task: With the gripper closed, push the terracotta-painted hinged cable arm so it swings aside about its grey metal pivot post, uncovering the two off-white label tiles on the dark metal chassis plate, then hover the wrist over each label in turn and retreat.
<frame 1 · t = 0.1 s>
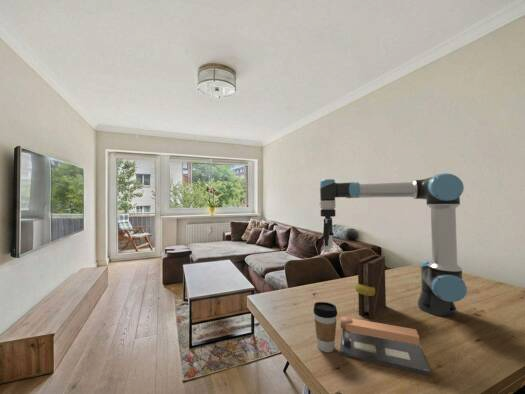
hand: (328, 249, 121), 28 cm above the table, fingers open, 13 cm apart
cable arm: (376, 328, 80), point 8 cm above the table, hinge at 0.0°
chassis: (380, 351, 81), on the table
coffee cup: (325, 347, 84), on the table
book: (372, 311, 111), on the table
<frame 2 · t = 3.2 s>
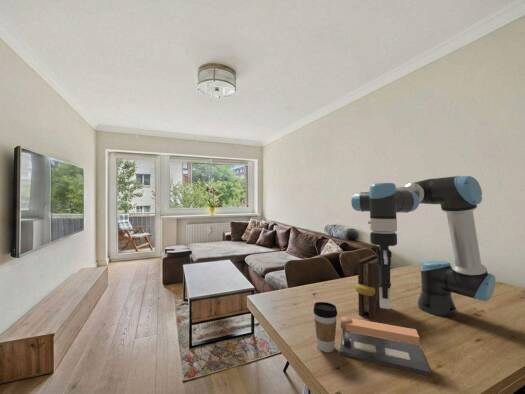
hand: (384, 307, 72), 19 cm above the table, fingers closed
nothing on the table moved.
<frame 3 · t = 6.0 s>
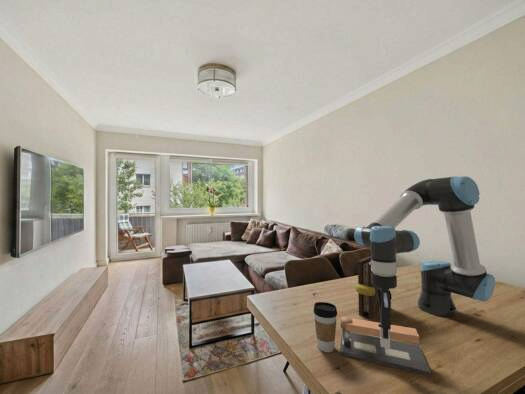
hand: (385, 346, 75), 5 cm above the table, fingers closed
cable arm: (376, 328, 80), point 8 cm above the table, hinge at 1.4°, touching gripper
everything else where it was.
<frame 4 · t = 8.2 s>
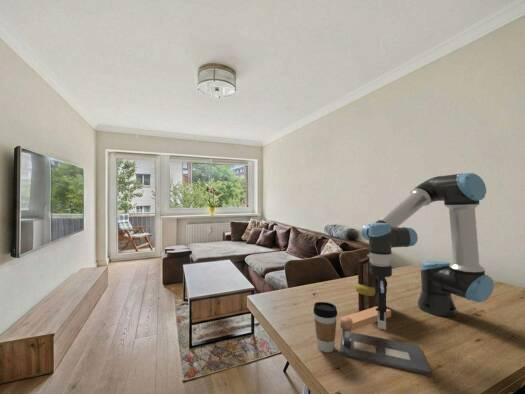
hand: (381, 327, 86), 5 cm above the table, fingers closed
cable arm: (365, 317, 89), point 8 cm above the table, hinge at 50.2°, touching gripper
everything else where it was.
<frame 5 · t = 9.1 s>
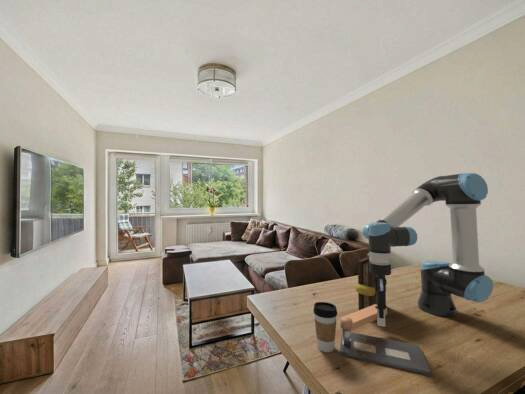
hand: (381, 325, 88), 5 cm above the table, fingers closed
cable arm: (363, 316, 89), point 8 cm above the table, hinge at 54.6°, touching gripper
everything else where it was.
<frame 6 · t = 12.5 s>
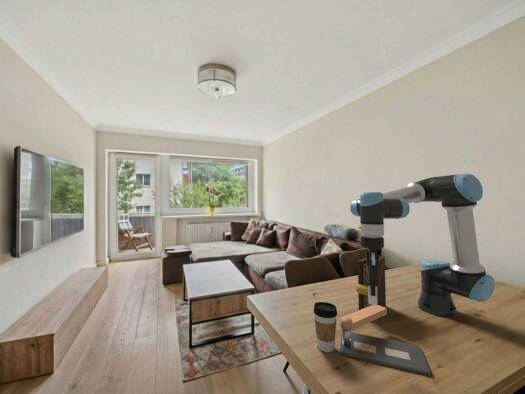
hand: (372, 303, 81), 17 cm above the table, fingers closed
cable arm: (363, 316, 89), point 8 cm above the table, hinge at 55.0°
everything else where it was.
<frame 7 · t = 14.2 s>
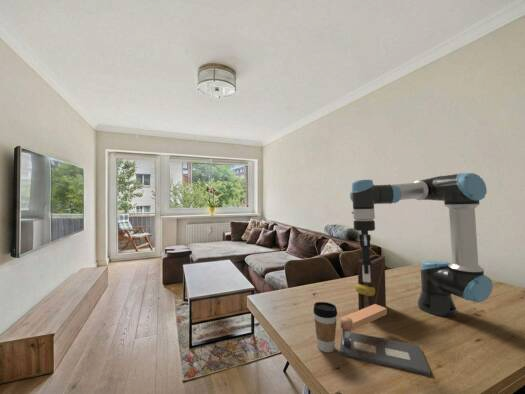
hand: (366, 281, 89), 22 cm above the table, fingers closed
nothing on the table moved.
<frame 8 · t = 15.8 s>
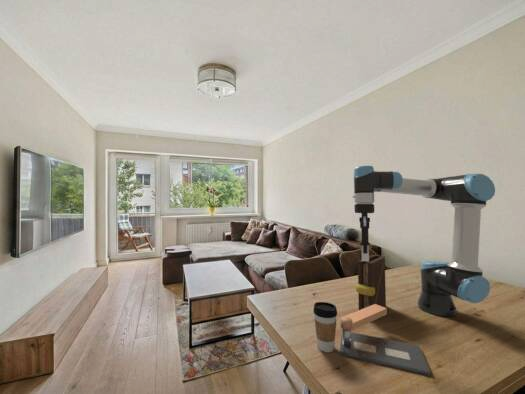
hand: (365, 260, 95), 28 cm above the table, fingers closed
nothing on the table moved.
at the end: cable arm at +55° (first picture: +0°); cable arm touching nothing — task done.
